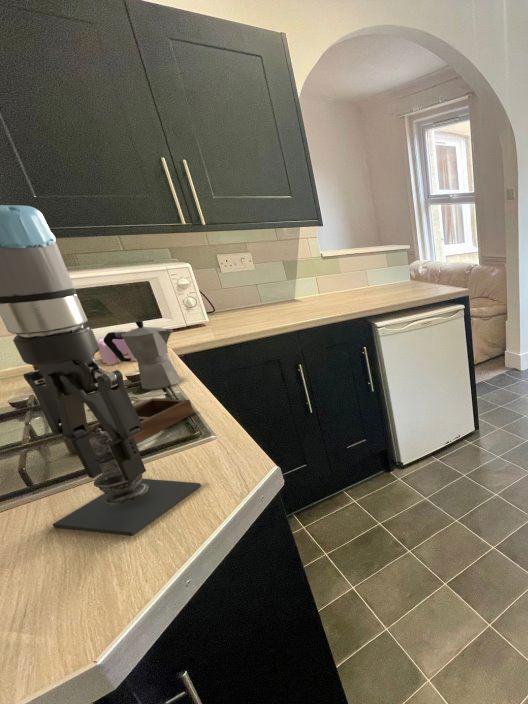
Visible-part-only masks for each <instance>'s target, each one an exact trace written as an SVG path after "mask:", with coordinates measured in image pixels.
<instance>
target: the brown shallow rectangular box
mask: <svg viewBox="0 0 528 704" xmlns="http://www.w3.org/2000/svg"><path fill="white" fill-rule="evenodd" d="M133 406H134V405H133ZM134 409H135V411H136V413H137V415H138V417H139V419H140V421H141V424H142V426H143V428H144V431H143V432H141V433H139V434H137V435H135V436H134V440H135V442H136V444H139V443H141V442H143V441H144V440H146V439H148V438H150V437H152V436H153V435H156V434H158V433H159V432H161V431H163V430H166V429H167V428H169V427H171V426H173V425H174V424H177V423H178V422H180V421H182V420H184V419H187V418H188V417H190V416H192V415H194V414H195V412H194V408H193V405H192V403H191V401H190V399H179V398H178V399H177V398H176V399H175V398H157V397H153V398H149V399H148V400H145V401H144V402H141V403H139V404H136V405H135V406H134ZM90 426H91V427H94V429H93V430H91V431H88V432H86V434H88V433H90V432H95V434H96V433H97V431H95V430H96V429H97V428H100V429H101V431H103V432H105V429H104V428H103V427H102V425H101V424H100V423H99V421H98V422H95V423H93V424H91V425H90ZM118 433H119V432H118ZM62 440H63V443H64V445H65V446H66V449H67V450H68V453H69V454H72V455H73V454H76V455H78V454H77V453H76V451H75V449H74V447H73V445H72V443H71V441H70V440H68V439H66V438H65V437H64V436H63V437H62Z"/></svg>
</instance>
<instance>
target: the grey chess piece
mask: <svg viewBox="0 0 528 704" xmlns="http://www.w3.org/2000/svg"><path fill="white" fill-rule="evenodd" d="M95 431H97V433H96V434H94V435H93V436H92V437H91V438H90V440H89V442H90V444H91V446H92V448H93V451H94V453H95V455H96V456H95V457H94V461H98V463H99V465H100V467H101V469H102V474H100V475H98V476H97V477H96V479H95V480H94V481H93V486H94V487H96V488H98V490H100V491H101V492H103V494H104V493H106V494H110V495H109V496H108V497H107V498H106V499H105V502H106V504H108V505H118V504H123V503H126V502H129V501H132V500H134V499H136V498H138V497H140V496H142V495H143V494H144V493H146V492H147V490H148V488H149V487H148V485H146V484H139V483H140V482H141V480H142V479H143V474H144V473H142V474H140V475H139V476H137V477H135V478H134V479H132V480H130V481H125V479H124V477H123V475H122V472H121V470H120V468H119V466H118V464H117V461H116V459H115V457H114V455H113V452H112V450H111V448H110V446H109V444H108V442H110V441H112V439H111V438H110V436H109V435H108V433H107V432H106V431H105V432H103V431H101V429H100V428H97V429H96V430H95Z"/></svg>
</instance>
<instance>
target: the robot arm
mask: <svg viewBox="0 0 528 704" xmlns="http://www.w3.org/2000/svg"><path fill="white" fill-rule="evenodd" d="M0 318H1V320H2V322H3V324H4V326H5V329H6V331H7V332H8V333H10V334H13V335H16V334H17V335H16V336H14V337H13V339H12V342H13V343H14V346H15V347H16V349H17V352H18V353H19V355H20V358H21V359H22V362H24V363H25V364H27V365H31V366H32V365H38V370H33V371H29V372H25V373H23V379H24V380H25V381H26V383H27V384H28V385H29V386H30V388H31V389H32V391H33V393H34V396H35V398H36V400H37V402H38V405H39V407H40V409H41V412H42V413H43V416H44V417H45V420H46V422H47V425H48V426H49V429H50V431H51V433H52V434H53V435H54V436H60V435H62V436H63V438H64V437H65V438H66V439H68V440H70V441H71V443H72V445H73V447H74V449H75V451H76V453H77V454H76V455H77V456H78V459H79V460H80V463H81V464H82V466H83V468H84V470H85V473H86V474H87V477H88V478H90V479H94V478H97V477H99V476H101V475H102V469H101V467H100V465H99V463H98V461H94V457H95V456H96V455H95V453H94V451H93V448H92V446H91V444H90V442H89V440H90V438H91V437H92V436H93V435H94V434H95V432H90V433H88V434H86V432H88V431H91V430H93V429H94V427H91V425H89V424H88V421H87V420H88V419H87V415H86V408H85V404H86V406H87V408H88V409H89V410H90V412H91V413H92V414H93V416H94V417H95V418H96V420H97V421H98V422H99V423H100V424H101V425H102V427H103V428H104V429H105V431H106V432H107V433H108V435H109V436H110V438H111V439H112V441H110V442H108V444H109V446H110V448H111V450H112V452H113V455H114V457H115V459H116V461H117V464H118V466H119V468H120V470H121V472H122V475H123V477H124V479H125V481H130V480H132V479H134V478H135V477H137V476H139V475H140V474H142V473H143V474H144V473H145V472H147V469H146V467H145V464H144V462H143V460H142V456H141V451H140V449H139V447H138V445H137V444H138V443H137V444H136V442H135V440H134V436H135V435H137V434H139V433H141V432H143V431H144V428H143V426H142V424H141V421H140V419H139V417H138V415H137V413H136V411H135V409H134V403H132V400H131V397H130V395H129V393H128V391H127V389H126V387H125V383H124V375H123V373H122V372H121V371H120V370H119V369H116V370H113V371H108V370H104V369H103V368H102V366H101V365H100V364H99V363H98V361H97V360H96V358H95V355H96V353H99V352H98V351H99V349H100V347H99V345H98V342H97V340H96V339H97V338H96V335H95V332H94V329H92V327H90V326H89V325H86V324H87V322H88V318H87V315H86V313H85V310H84V309H83V306H82V303H81V301H80V299H79V297H78V294H77V291H76V288H75V287H74V284H73V281H72V278H71V276H70V273H69V271H68V269H67V266H66V263H65V261H64V258H63V256H62V253H61V251H60V248H59V246H58V244H57V239H56V236H55V235H54V234H53V232H52V231H51V229H50V227H49V225H48V224H47V220H46V219H45V217H44V215H43V213H42V212H41V211H40V210H39V209H37V208H35V207H33V206H30V205H20V204H19V205H18V204H17V205H16V204H14V205H11V204H10V205H9V204H7V205H6V204H1V205H0ZM84 324H85V325H84ZM45 384H46V385H45ZM118 432H119V433H118Z"/></svg>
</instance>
